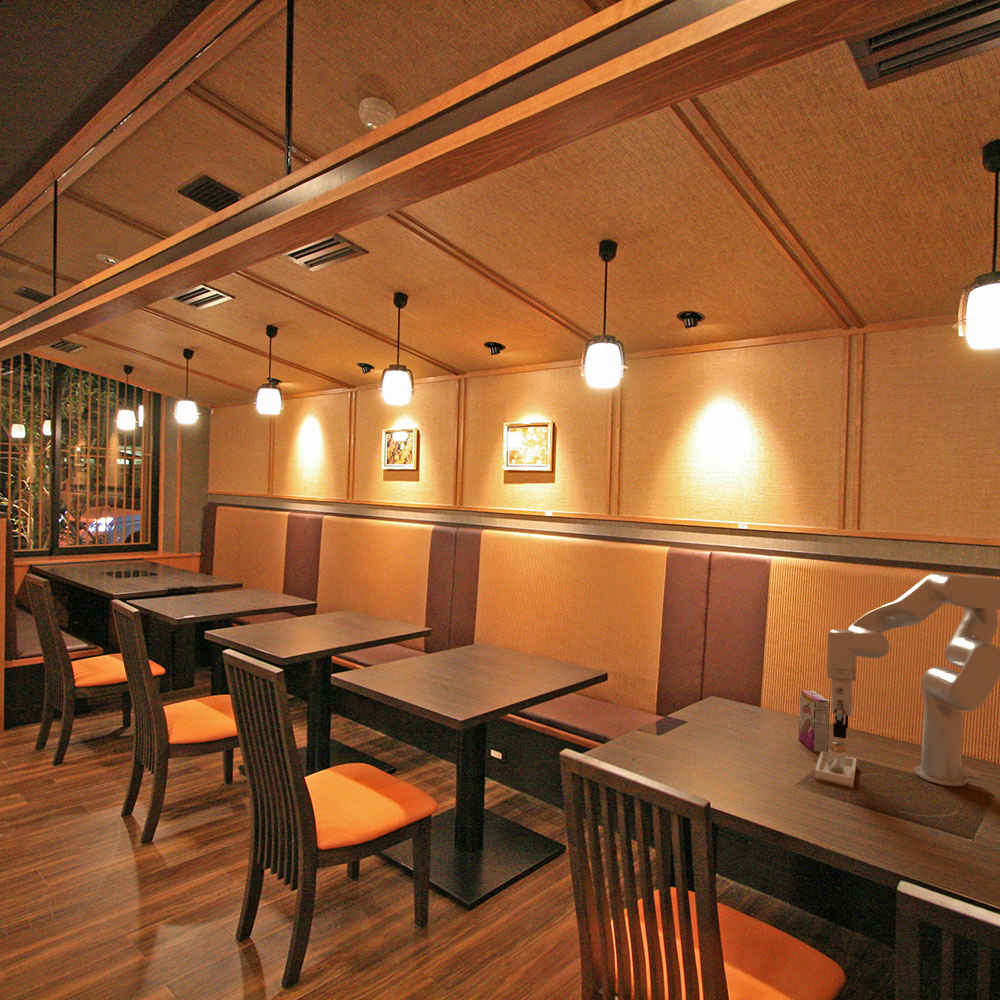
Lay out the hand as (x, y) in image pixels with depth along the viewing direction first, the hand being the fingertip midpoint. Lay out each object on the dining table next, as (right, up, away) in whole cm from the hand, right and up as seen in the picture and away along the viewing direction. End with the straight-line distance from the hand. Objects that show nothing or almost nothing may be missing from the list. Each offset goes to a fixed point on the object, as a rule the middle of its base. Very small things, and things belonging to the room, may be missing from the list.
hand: (840, 732), depth 195 cm
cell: (-1, -11, 0) cm, 11 cm away
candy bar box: (+2, -12, +21) cm, 25 cm away
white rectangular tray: (-1, -12, 0) cm, 12 cm away
